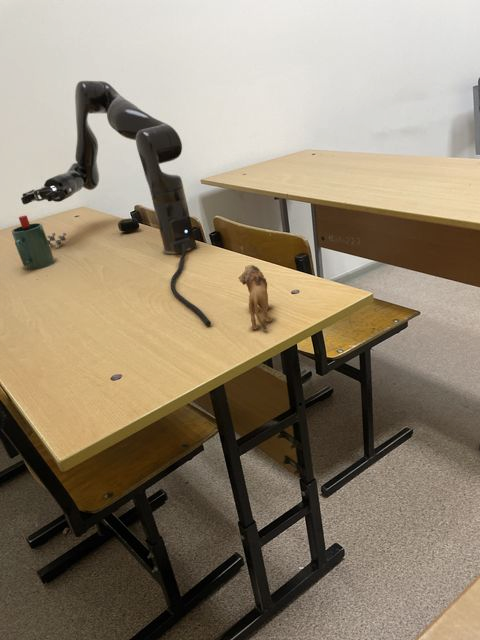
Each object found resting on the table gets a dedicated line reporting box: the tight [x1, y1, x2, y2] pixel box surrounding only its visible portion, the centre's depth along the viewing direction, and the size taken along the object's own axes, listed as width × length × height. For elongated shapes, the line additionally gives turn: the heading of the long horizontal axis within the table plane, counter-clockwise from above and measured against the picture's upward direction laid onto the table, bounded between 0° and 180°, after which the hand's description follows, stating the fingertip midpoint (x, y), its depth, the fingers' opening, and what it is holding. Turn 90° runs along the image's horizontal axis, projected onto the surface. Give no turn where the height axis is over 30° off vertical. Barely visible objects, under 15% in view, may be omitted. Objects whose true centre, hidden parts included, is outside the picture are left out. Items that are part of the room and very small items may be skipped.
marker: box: [18, 215, 31, 231], centre depth 158 cm, size 2×2×14 cm
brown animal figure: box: [238, 264, 273, 331], centre depth 103 cm, size 15×5×9 cm, turn 10°
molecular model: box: [46, 232, 70, 249], centre depth 176 cm, size 14×4×5 cm, turn 78°
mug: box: [10, 222, 55, 270], centre depth 157 cm, size 12×9×12 cm
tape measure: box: [117, 217, 140, 234], centre depth 180 cm, size 7×7×4 cm
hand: (35, 199), depth 161 cm, fingers open, 8 cm apart
